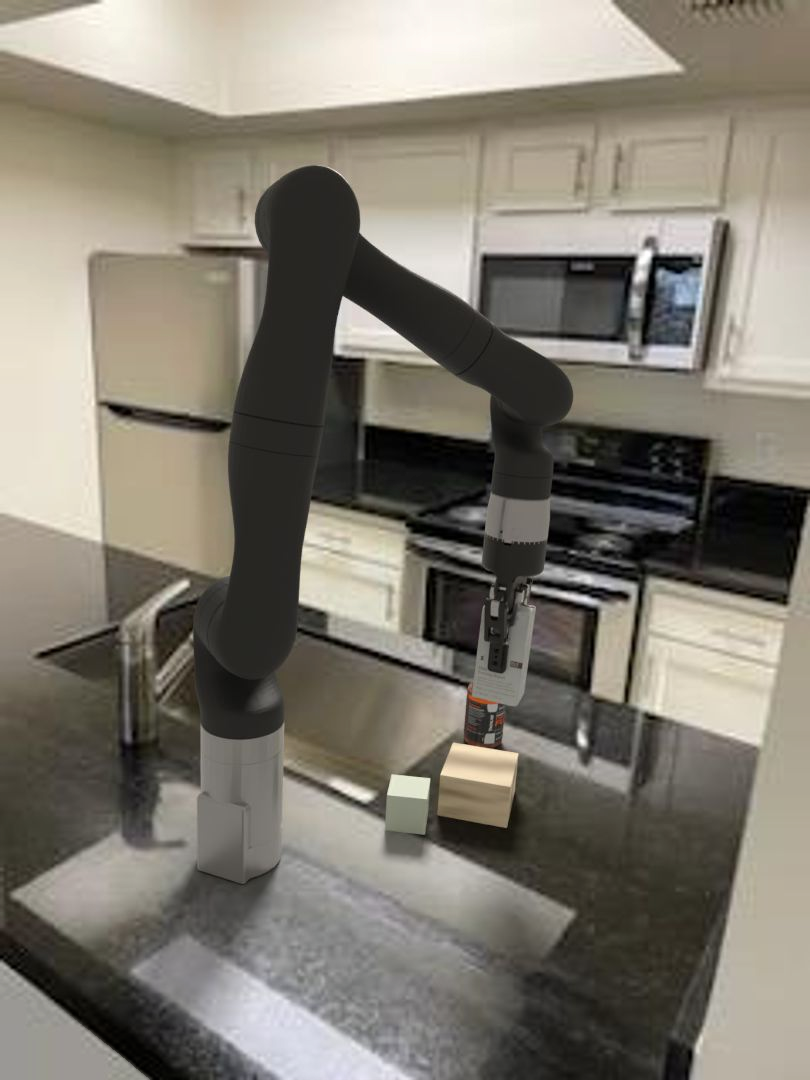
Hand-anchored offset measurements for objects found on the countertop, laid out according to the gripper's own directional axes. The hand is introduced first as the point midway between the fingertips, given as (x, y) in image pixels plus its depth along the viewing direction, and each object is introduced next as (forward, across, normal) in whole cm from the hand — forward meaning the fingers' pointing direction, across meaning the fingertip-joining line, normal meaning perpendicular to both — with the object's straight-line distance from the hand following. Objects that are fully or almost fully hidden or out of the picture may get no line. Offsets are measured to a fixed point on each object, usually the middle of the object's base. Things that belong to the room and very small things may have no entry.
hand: (502, 664), depth 105 cm
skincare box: (+5, 0, 0) cm, 5 cm away
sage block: (+21, +7, -8) cm, 24 cm away
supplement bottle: (+21, -18, -6) cm, 28 cm away
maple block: (+21, -2, -2) cm, 21 cm away
